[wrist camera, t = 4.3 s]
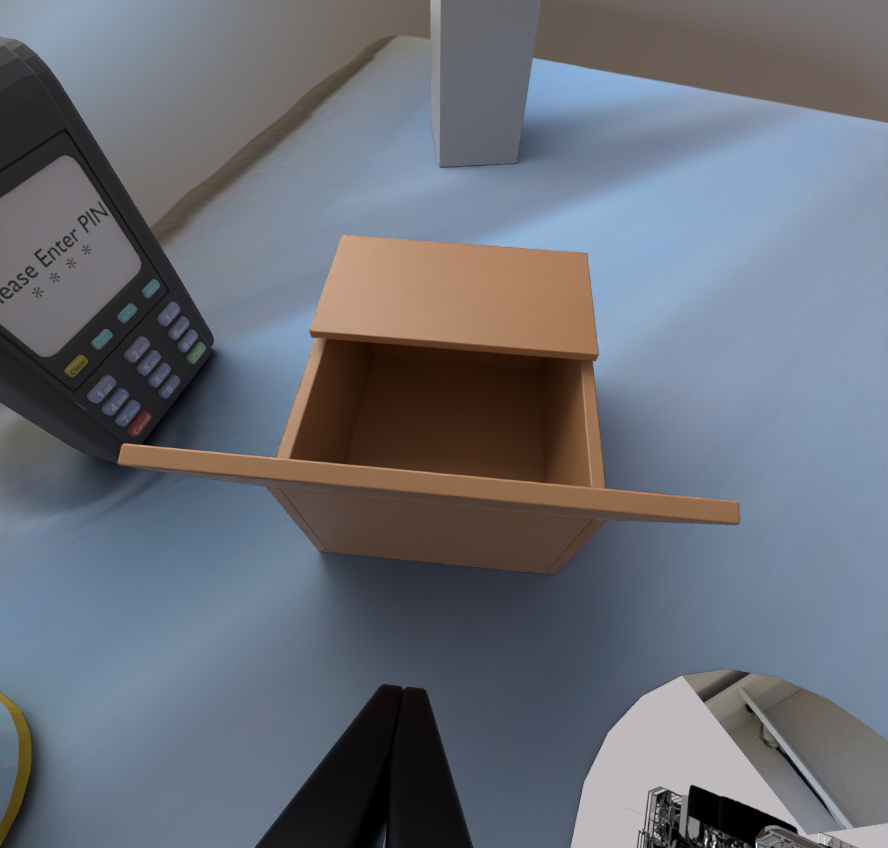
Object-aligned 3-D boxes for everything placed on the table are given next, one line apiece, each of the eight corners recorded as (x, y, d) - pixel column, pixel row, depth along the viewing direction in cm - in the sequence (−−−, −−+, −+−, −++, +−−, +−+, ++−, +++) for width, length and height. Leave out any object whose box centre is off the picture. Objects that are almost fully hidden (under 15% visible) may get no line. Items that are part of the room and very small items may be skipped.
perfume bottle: (431, 127, 41) (428, -207, 26) (502, 124, 42) (540, -205, 26) (439, 167, 38) (441, -193, 22) (516, 163, 38) (569, -191, 23)
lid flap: (615, 506, 13) (615, 520, 13) (260, 473, 14) (257, 486, 14) (740, 501, 7) (741, 525, 7) (121, 442, 8) (115, 465, 8)
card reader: (132, 478, 22) (-273, 190, 10) (66, 456, 23) (-399, 157, 10) (230, 347, 27) (45, 35, 14) (173, 332, 28) (-54, 18, 15)
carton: (554, 575, 20) (618, 511, 13) (318, 551, 21) (256, 476, 14) (547, 369, 26) (588, 251, 19) (366, 354, 27) (341, 233, 20)
